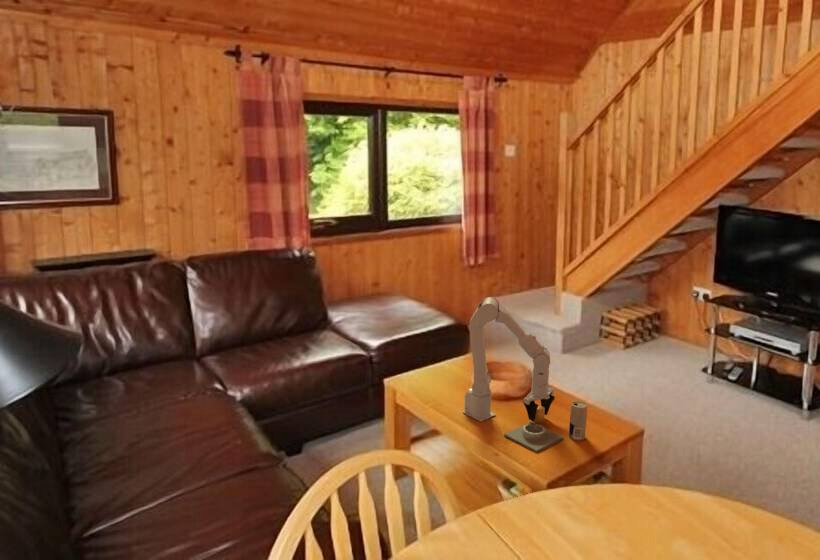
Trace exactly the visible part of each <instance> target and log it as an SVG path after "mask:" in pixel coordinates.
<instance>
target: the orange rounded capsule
mask: <svg viewBox="0 0 820 560" xmlns="http://www.w3.org/2000/svg"><path fill="white" fill-rule="evenodd" d="M538 405H539V406H538V408H537V410H536V415H535V420H534V421H532V420H531V422H532V423H534V424H543V423H544V422H545V415H544V413H545V408H544V407H543V406H541V404H538Z"/></svg>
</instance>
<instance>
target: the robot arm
mask: <svg viewBox="0 0 820 560" xmlns="http://www.w3.org/2000/svg"><path fill="white" fill-rule="evenodd" d="M494 320H495V321H494ZM492 321H494V322H495V323H496V324H497V323H499V324H500V323H501V324H503V325H504V326H505V327H506V328H507V329H508V330H509V331H510V333H512V334H513V335H514V336H515V337H516V338H517V344H518V345H519V347H521V349H522V350H523V351H524V352H525V353H526V354H527V356H528V357H529V358H531V359H532V364H533V368H532V371H531V374H532V376H531V390H530V392H529V393H528V394H527V396H526V397H524V398H523V400H522V403H523V405H524V408H525V409H526V412H527V417H528V420H529V421H531V422H532V421H534V420H535V415H536V410H537V408H538V406H539V405H540V406H543V407H544V408H545V413H544V416H548V413H549V410H550V408H551V405H552V403H553V402H554V401H555V399H556V397H555V395H554V394H555V388H553V387H549V379H550V378H549V377H550V365H551V356H550V355H551V354H550V352H549V350H548V348H546V347H545V346H544V345H542V344H541V343H540V342H539V341H538V340H537V336H536V335H535V334H532V333H531V332H526V331H524V329H523V328H522V326H520V325H519V323H518V322H517V320H516V319H515V318H514V317H513V316H512V314H511V313H510V312H509V311H508V310H507V309H506V307H505V306H504V304H502V303H501V302H499V300H498V299H497V298H495V297H493V296H489V297H485V298H484V299H482V300H481V302H479V303H478V306H477V308H476V309H475V310H474V312H473V315H472V316H471V317H470V320H469V323H468V324H469V332H470V333H469V335H470V343H471V354H472V364H473V383H472V385H471V387H470V388H469V389H468V390H467V391H466V392H465V395H464V410H463V411H462V413H463V414H465V415H467V416H469V417H470V418H473V419H475V420H477V421H478V422H483V421H486V420H488V419H490V418H493V417H495V416H496V413H494V412H493V411H491V410H492V409H491V407H492V390H491V388H490V387H491V382H492V377H491V374H490V373H489V371H488V369H489V368H488V366H487V358H486V357H487V354H486V353H487V352H486V344H485V333H484V327H485V326H486V325H487V324H488V323H490V322H492ZM535 401H540V404H537V403H536V402H535Z"/></svg>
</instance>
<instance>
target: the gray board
mask: <svg viewBox="0 0 820 560" xmlns="http://www.w3.org/2000/svg"><path fill="white" fill-rule="evenodd" d="M532 423H533V424H535V423H534V422H532V421H529V422H527V423H525V424H524V425H526V424H532ZM524 425H519V426H518V427H515V428H514V429H513V430H510V431H508V432H506V433H503V436H504V437H505V438H507V439H509V440H511V441H513V442H515V443H517V444H519V445H520V446H522V445H523V446H522V447H524V446H525V448H526V449H528V450H530V451H532V452H534V453H539V452H541V451H543V450H545V449H546V448H548V447H551V446H552V445H555V444H556V443H558V442H560V441H562V440H564V436H562V435H560V434H558V433H555V432H553V431H552V430H549V429H547V428H545V438H544V439H543V440H541V441H531V440H528V439H526V438H524V437H523V435H522V430H523V426H524ZM529 432H531V433H538V432H535V431H529Z"/></svg>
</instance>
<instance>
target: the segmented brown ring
mask: <svg viewBox="0 0 820 560" xmlns="http://www.w3.org/2000/svg"><path fill="white" fill-rule="evenodd" d="M533 423H534V422H532V424H527V423H525V424H526V425H525V424H524V426H523V425H522V426H523V430H522V435H523V437H524V438H526V439H528V440H531V441H541V440H543V439H544V438H545V429H546V428H545V427H544V426H543V425H541V424H539V423H534V424H533ZM529 431H535V432H538V433H531V432H529Z"/></svg>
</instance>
